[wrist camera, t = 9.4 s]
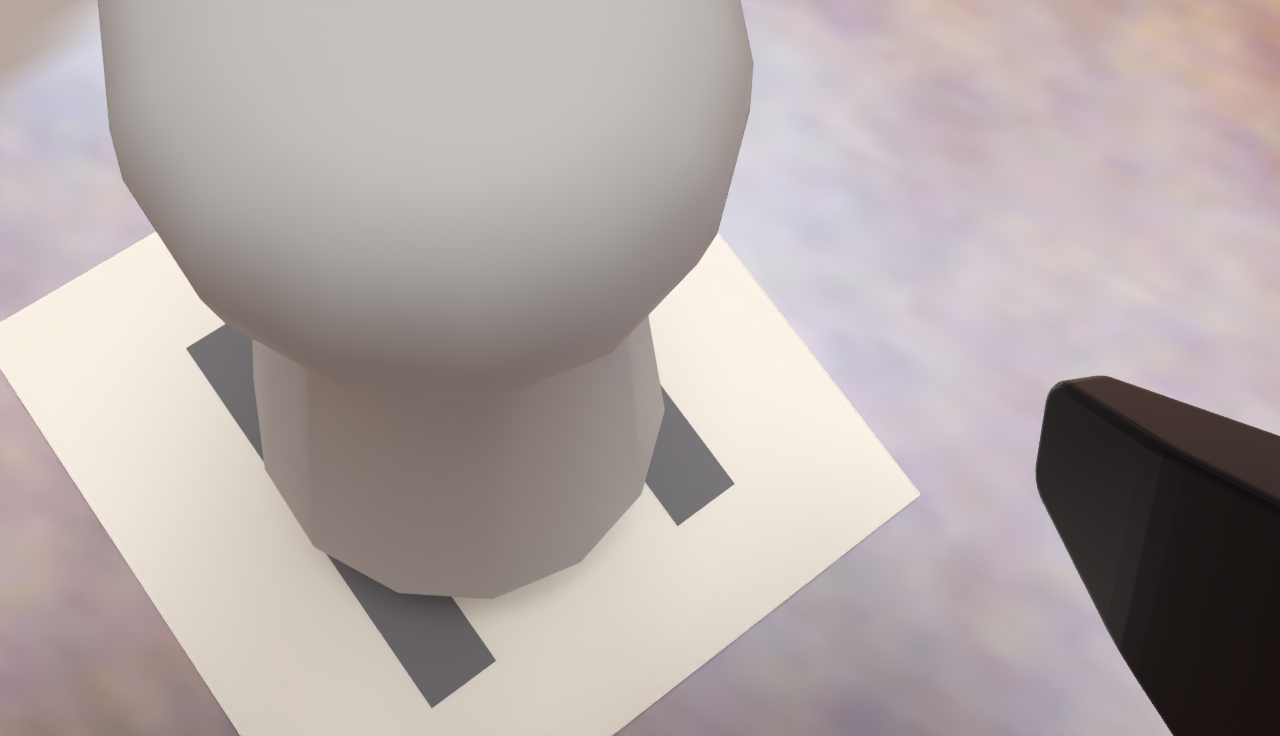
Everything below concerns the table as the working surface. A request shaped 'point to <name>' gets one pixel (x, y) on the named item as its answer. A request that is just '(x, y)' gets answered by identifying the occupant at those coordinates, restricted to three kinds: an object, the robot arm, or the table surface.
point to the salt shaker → (438, 248)
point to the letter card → (429, 624)
